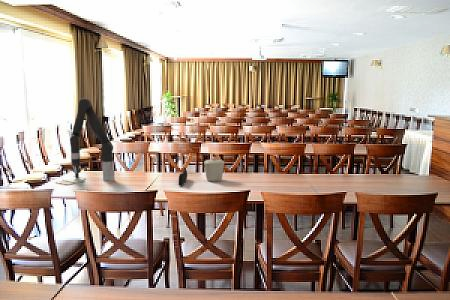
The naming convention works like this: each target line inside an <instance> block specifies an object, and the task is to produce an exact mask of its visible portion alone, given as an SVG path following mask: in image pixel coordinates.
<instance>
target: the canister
mask: <svg viewBox="0 0 450 300" xmlns="http://www.w3.org/2000/svg"><path fill="white" fill-rule="evenodd" d="M203 163H204V169H205V171H204V172H205V178H206V180H207V181H208V182H213V183H214V182H220V181H222V179H223V174H224V167H225V166H224V164H225V163H226V162H225V161H224V160H221V159H217V157H216V156H212V158H211V159H207V160H205V161H204V162H203Z"/></svg>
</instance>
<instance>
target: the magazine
mask: <svg viewBox="0 0 450 300" xmlns="http://www.w3.org/2000/svg"><path fill="white" fill-rule="evenodd" d="M187 179H188V170H187V167H184V168H183V170H182V172H181V173H179V176H178V186H183V185H185V184H186V181H187Z"/></svg>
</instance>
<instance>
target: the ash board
mask: <svg viewBox="0 0 450 300" xmlns="http://www.w3.org/2000/svg"><path fill="white" fill-rule="evenodd" d="M65 180H66V179H63V180H61V181H56V182H55V184H58V185H63V186H71V185H76V184H77V183H75V182H70V181H65Z"/></svg>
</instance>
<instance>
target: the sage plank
mask: <svg viewBox="0 0 450 300" xmlns="http://www.w3.org/2000/svg"><path fill="white" fill-rule="evenodd" d="M64 180H65V181H70V182H75V183H76V184H80V183H83V182H85V181H86V180H87V179H86V177H81V176H79V177H78V178H76V177H75V175H74V176H71V177H68V178H66V179H64Z"/></svg>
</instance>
